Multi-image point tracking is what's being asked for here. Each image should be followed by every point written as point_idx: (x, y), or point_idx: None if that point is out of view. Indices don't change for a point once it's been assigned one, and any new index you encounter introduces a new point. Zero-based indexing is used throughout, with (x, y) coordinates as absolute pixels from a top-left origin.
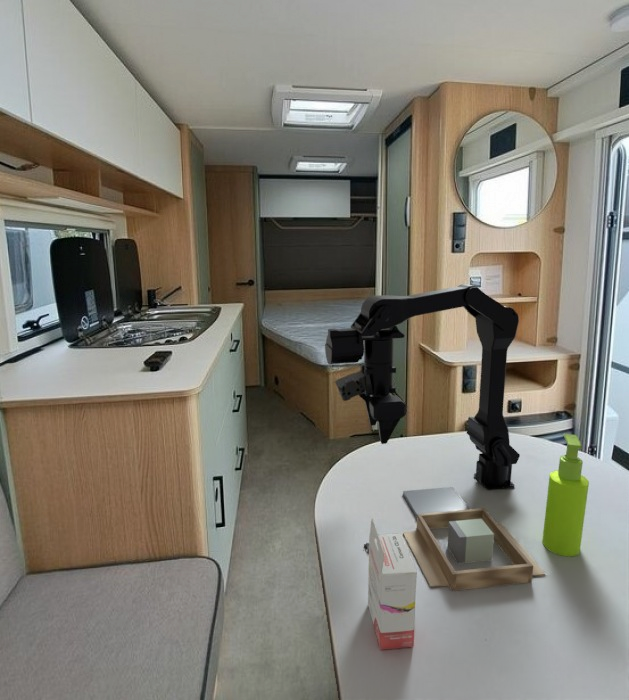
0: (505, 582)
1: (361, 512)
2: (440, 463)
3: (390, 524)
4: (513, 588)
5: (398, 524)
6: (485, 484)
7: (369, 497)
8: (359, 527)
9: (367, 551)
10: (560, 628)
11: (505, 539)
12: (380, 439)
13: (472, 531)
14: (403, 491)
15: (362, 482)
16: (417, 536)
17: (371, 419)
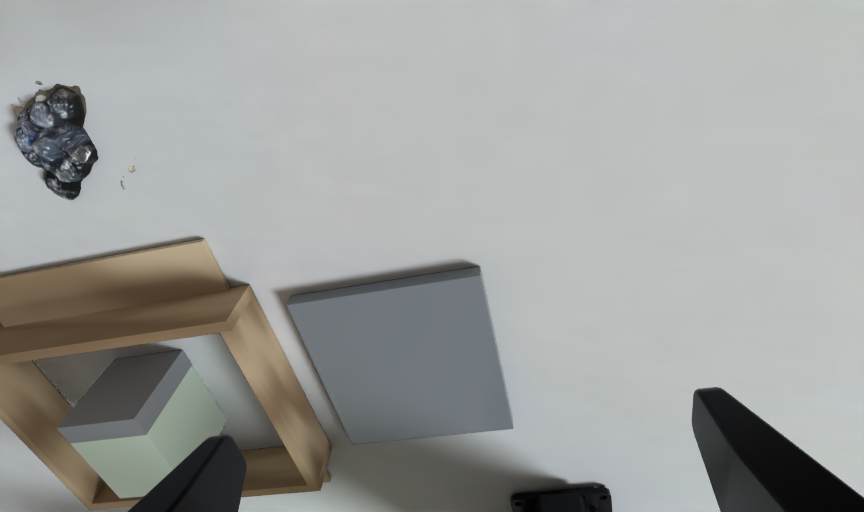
0: None
1: (309, 77)
2: None
3: (248, 199)
4: None
5: (257, 228)
6: (533, 501)
7: (448, 121)
8: (187, 67)
9: (35, 101)
10: (2, 469)
11: None
12: (186, 466)
13: (107, 460)
14: (476, 276)
15: (604, 86)
16: (192, 282)
17: (728, 461)
